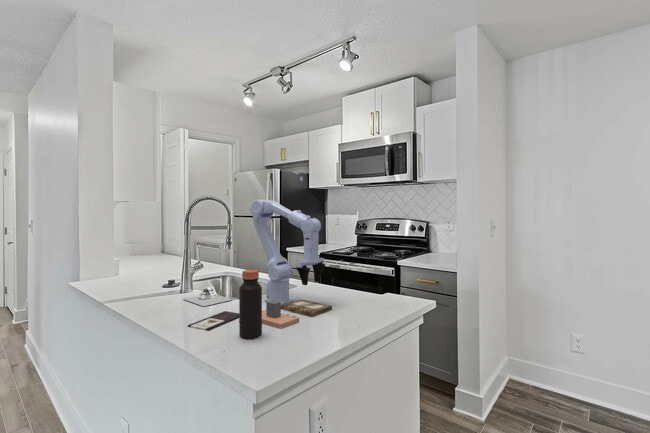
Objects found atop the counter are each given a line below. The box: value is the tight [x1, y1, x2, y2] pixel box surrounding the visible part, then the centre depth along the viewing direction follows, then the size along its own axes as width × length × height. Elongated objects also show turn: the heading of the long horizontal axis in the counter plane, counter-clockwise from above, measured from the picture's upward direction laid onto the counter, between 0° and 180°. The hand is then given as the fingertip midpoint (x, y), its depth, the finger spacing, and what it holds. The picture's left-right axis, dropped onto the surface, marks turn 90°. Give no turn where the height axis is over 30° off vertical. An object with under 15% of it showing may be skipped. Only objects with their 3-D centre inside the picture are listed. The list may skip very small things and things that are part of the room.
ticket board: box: [281, 298, 333, 318], centre depth 140 cm, size 16×12×2 cm
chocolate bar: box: [187, 310, 239, 332], centre depth 126 cm, size 9×1×18 cm
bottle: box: [238, 269, 263, 340], centre depth 111 cm, size 7×7×20 cm
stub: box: [262, 300, 300, 330], centre depth 126 cm, size 16×9×6 cm, turn 52°
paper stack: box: [183, 294, 234, 307], centre depth 152 cm, size 23×25×1 cm
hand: (311, 283), depth 143 cm, fingers open, 7 cm apart
